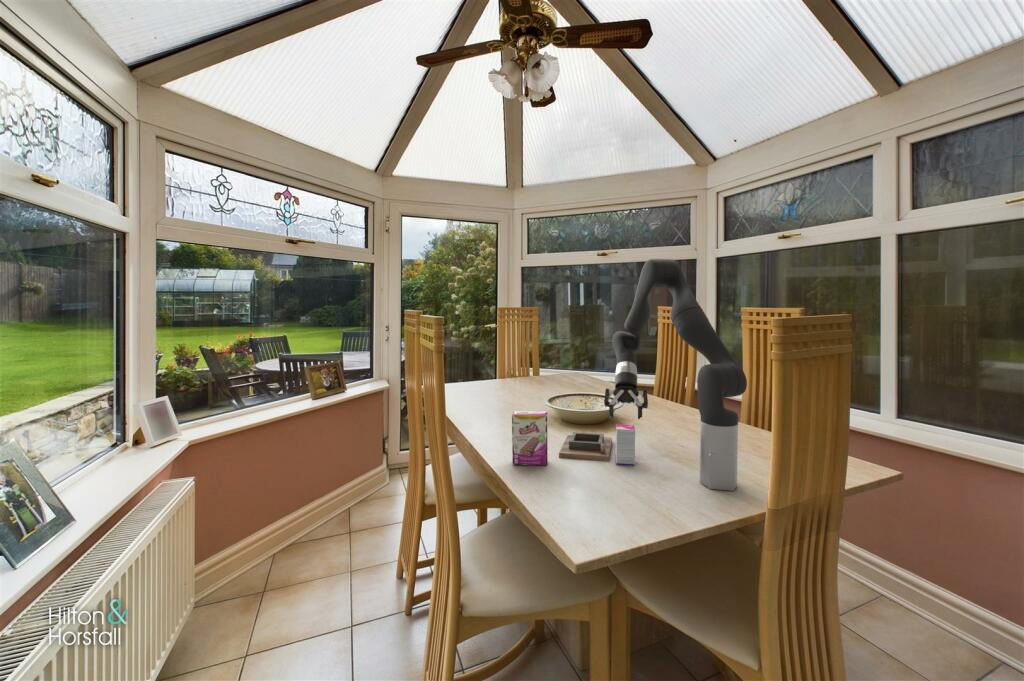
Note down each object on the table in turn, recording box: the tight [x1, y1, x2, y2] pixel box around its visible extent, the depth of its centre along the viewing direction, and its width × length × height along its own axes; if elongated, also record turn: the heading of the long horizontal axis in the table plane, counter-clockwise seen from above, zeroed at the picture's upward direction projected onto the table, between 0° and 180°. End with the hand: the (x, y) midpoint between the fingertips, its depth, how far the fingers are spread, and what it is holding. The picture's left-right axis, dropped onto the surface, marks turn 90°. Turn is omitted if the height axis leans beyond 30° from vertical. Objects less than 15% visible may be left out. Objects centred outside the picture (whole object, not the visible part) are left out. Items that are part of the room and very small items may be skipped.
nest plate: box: [558, 432, 613, 462], centre depth 148 cm, size 20×16×4 cm
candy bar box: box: [511, 410, 549, 466], centre depth 136 cm, size 11×5×16 cm, turn 84°
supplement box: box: [614, 423, 636, 467], centre depth 135 cm, size 6×6×12 cm
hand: (625, 417), depth 142 cm, fingers open, 8 cm apart
